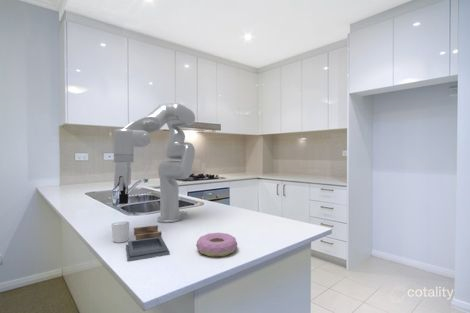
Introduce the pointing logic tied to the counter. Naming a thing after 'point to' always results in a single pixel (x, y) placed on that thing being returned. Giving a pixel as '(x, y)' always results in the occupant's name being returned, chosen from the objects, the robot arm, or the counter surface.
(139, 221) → the counter surface
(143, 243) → the cradle
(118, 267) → the counter surface
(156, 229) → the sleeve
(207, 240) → the donut
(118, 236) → the white cup
